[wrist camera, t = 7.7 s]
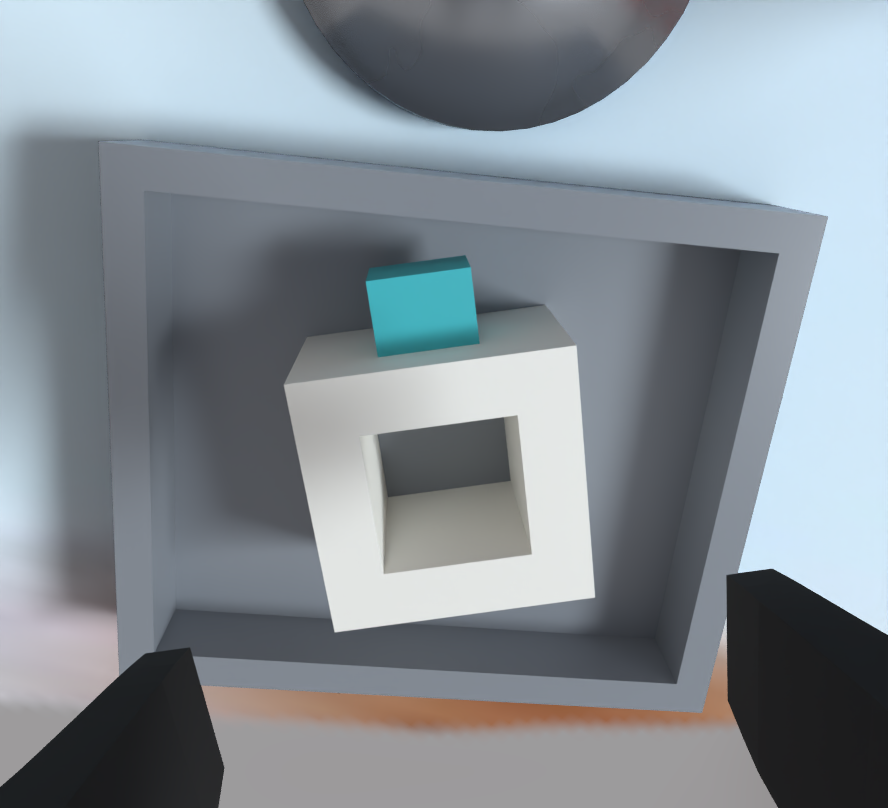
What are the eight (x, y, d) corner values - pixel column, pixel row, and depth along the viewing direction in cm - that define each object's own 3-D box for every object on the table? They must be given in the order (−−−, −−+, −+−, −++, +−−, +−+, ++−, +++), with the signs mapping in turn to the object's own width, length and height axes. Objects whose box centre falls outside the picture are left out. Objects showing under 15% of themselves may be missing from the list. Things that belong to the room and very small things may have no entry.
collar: (539, 238, 17) (570, 263, 14) (563, 518, 20) (595, 597, 16) (294, 270, 17) (267, 304, 14) (347, 547, 20) (334, 632, 16)
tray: (774, 205, 18) (828, 216, 16) (671, 651, 22) (702, 712, 19) (140, 139, 17) (98, 141, 15) (151, 620, 21) (119, 680, 18)
